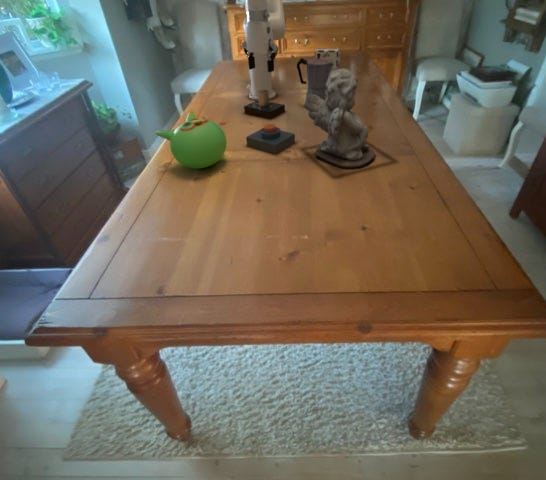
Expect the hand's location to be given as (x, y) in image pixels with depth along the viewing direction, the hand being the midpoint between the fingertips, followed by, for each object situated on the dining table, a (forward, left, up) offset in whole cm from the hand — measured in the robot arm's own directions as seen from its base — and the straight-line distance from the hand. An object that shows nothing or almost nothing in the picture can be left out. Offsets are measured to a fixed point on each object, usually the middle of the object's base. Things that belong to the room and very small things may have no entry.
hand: (261, 70), depth 135 cm
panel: (0, 0, -16) cm, 16 cm away
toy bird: (+12, -48, -16) cm, 52 cm away
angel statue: (+49, -18, -16) cm, 55 cm away
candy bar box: (+5, +42, -16) cm, 45 cm away
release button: (+22, -24, -12) cm, 35 cm away
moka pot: (+14, +17, -16) cm, 27 cm away
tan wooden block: (0, 0, -13) cm, 13 cm away
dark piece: (+22, -24, -16) cm, 36 cm away
